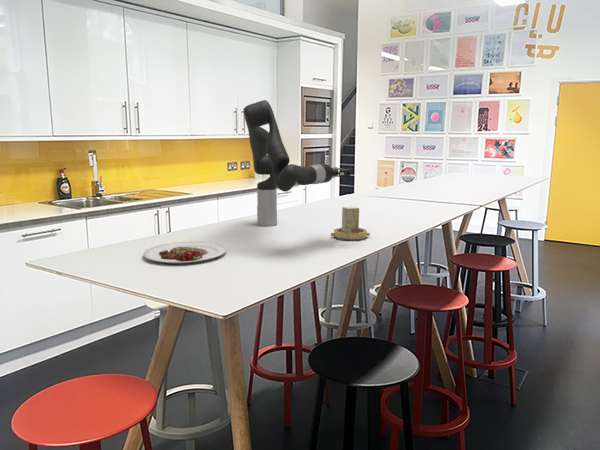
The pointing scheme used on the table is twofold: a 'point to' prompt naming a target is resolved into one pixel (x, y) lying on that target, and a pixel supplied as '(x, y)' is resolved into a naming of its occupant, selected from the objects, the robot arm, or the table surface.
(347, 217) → the skincare box
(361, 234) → the brass collar
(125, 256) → the table surface
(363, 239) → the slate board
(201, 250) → the plated food
